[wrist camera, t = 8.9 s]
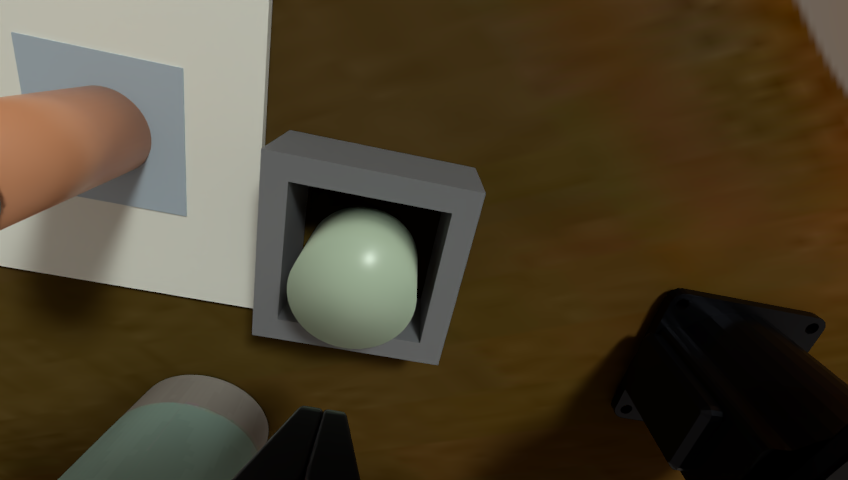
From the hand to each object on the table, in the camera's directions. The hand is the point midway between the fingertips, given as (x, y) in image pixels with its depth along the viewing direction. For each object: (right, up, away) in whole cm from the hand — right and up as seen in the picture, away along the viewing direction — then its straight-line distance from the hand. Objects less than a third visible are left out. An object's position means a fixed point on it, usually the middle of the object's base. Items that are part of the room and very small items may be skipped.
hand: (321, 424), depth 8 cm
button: (0, +3, +6) cm, 7 cm away
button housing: (0, +4, +8) cm, 9 cm away
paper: (-9, +7, +6) cm, 13 cm away
